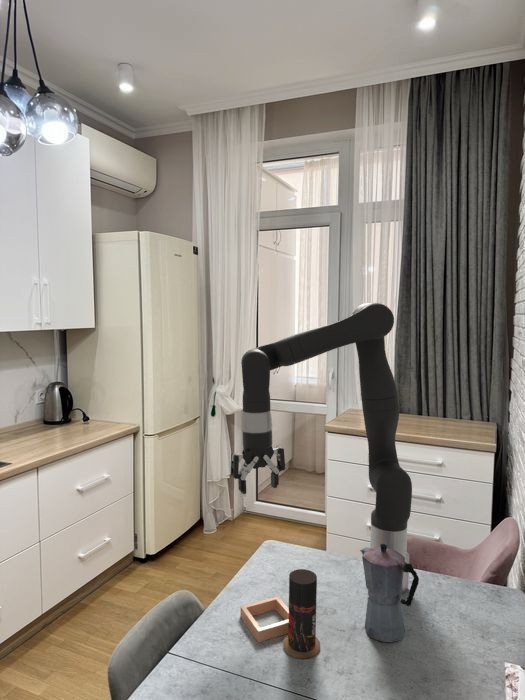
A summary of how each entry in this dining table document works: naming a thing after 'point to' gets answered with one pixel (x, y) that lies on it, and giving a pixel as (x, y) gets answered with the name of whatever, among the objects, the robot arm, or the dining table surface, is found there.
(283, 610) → the orange square frame
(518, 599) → the dining table surface
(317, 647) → the coaster
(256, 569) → the dining table surface
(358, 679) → the dining table surface
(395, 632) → the moka pot
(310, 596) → the deodorant
